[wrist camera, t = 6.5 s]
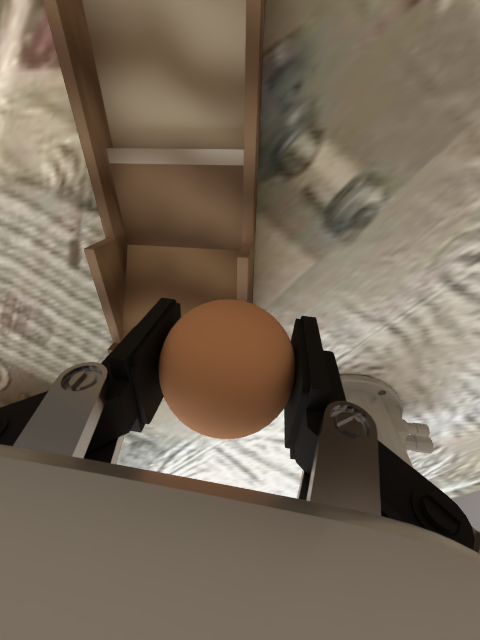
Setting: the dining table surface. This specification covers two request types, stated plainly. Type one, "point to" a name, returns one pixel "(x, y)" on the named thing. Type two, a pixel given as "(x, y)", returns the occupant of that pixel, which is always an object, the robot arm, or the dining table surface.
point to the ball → (227, 369)
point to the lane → (166, 145)
